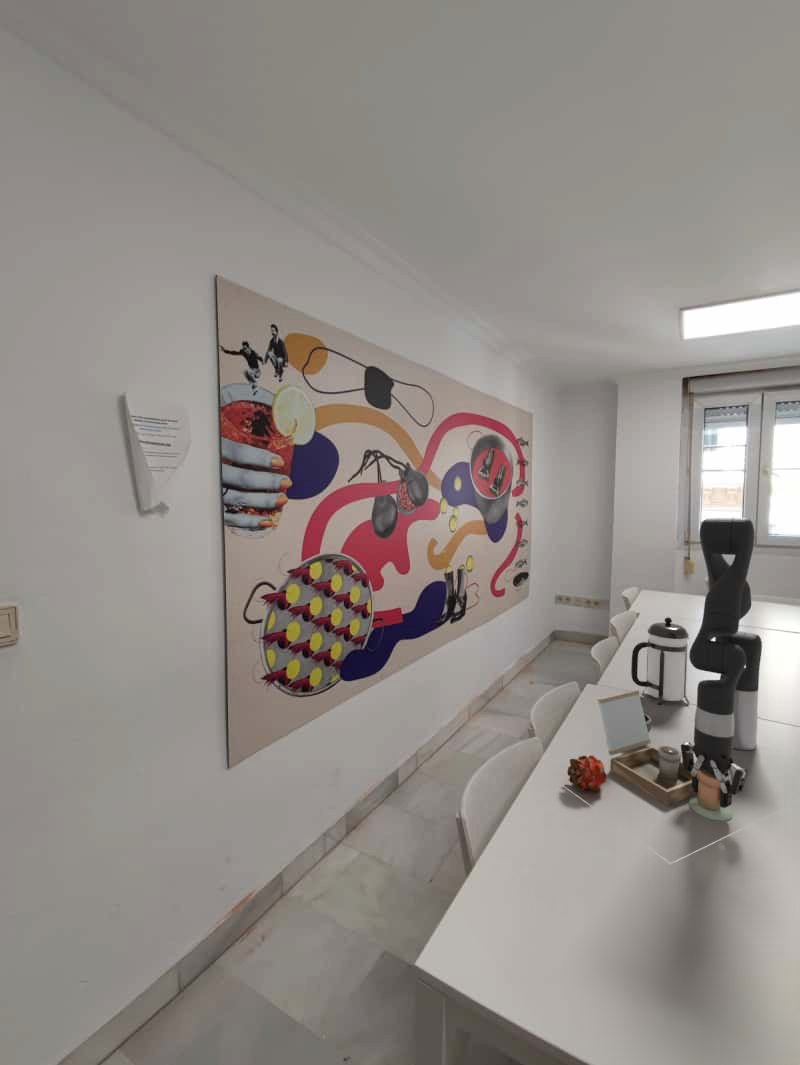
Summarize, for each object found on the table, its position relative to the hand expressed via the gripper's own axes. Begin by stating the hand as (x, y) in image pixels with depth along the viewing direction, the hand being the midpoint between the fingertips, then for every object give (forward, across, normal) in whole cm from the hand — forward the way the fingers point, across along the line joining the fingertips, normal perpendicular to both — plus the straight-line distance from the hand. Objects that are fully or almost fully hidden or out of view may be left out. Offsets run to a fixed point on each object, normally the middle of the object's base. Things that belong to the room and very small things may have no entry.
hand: (710, 798), depth 110 cm
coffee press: (+3, +46, -48) cm, 66 cm away
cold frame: (+3, +16, 0) cm, 17 cm away
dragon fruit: (+3, +19, +18) cm, 27 cm away
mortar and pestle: (+3, +31, -14) cm, 34 cm away
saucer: (+3, 0, 0) cm, 3 cm away
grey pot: (+2, +13, -4) cm, 14 cm away
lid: (-8, +23, 0) cm, 25 cm away
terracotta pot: (+1, 0, 0) cm, 1 cm away
